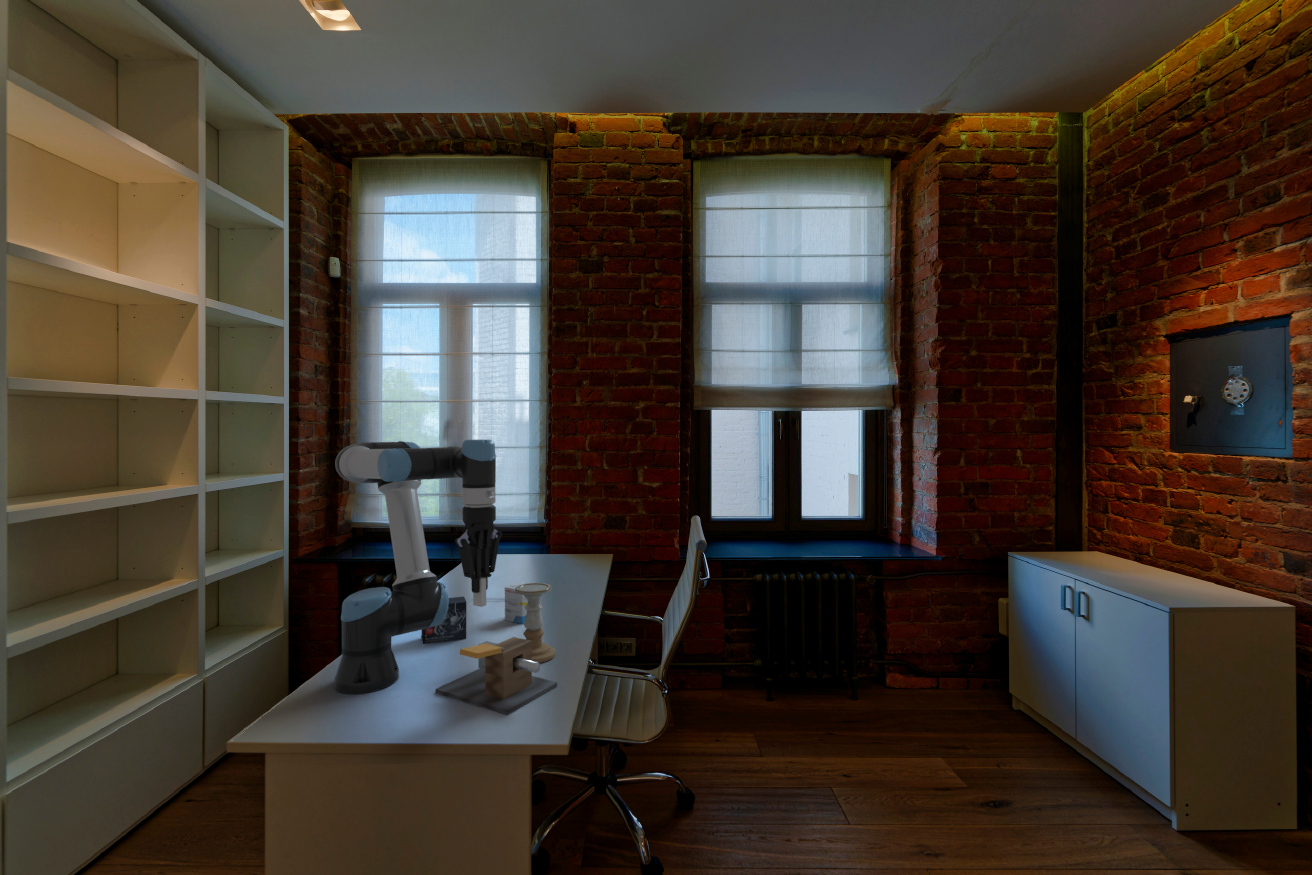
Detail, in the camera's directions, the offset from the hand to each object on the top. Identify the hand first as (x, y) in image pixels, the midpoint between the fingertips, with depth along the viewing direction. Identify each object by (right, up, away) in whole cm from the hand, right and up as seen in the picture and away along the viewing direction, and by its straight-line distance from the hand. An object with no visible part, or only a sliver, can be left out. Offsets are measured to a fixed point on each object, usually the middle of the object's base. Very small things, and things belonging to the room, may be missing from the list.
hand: (479, 605), depth 144 cm
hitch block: (+1, -24, +10) cm, 26 cm away
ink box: (-5, -24, +68) cm, 72 cm away
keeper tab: (0, -11, +1) cm, 12 cm away
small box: (-25, -24, +49) cm, 60 cm away
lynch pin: (+5, -19, +8) cm, 21 cm away
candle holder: (+6, -24, +33) cm, 41 cm away
